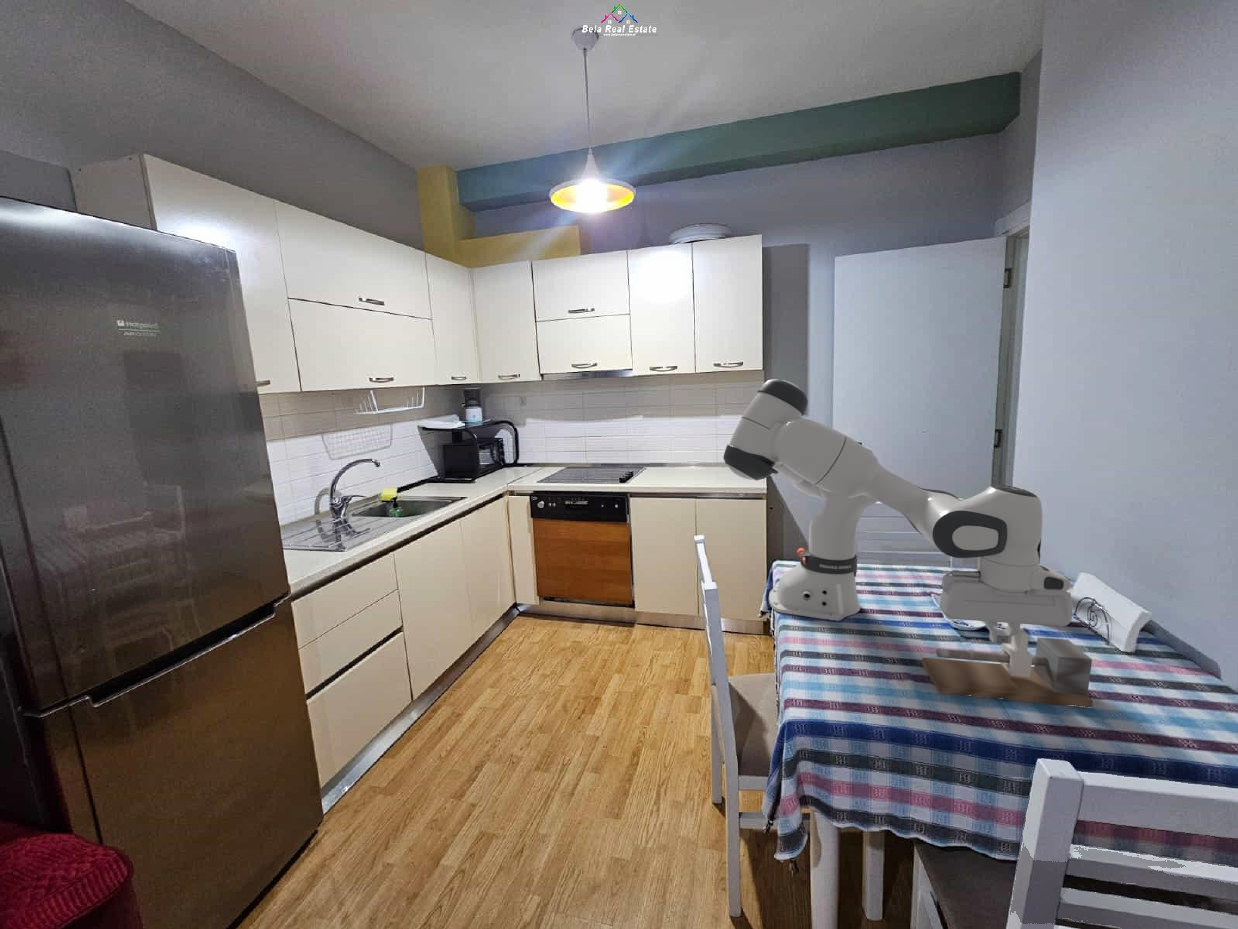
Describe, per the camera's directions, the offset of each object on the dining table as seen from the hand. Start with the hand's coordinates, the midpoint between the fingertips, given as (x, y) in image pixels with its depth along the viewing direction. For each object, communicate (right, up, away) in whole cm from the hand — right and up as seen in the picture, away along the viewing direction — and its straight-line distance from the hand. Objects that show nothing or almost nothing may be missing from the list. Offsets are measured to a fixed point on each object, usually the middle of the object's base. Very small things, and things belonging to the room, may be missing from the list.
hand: (1000, 642), depth 97 cm
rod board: (+1, -9, +1) cm, 9 cm away
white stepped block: (+3, -5, 0) cm, 6 cm away
